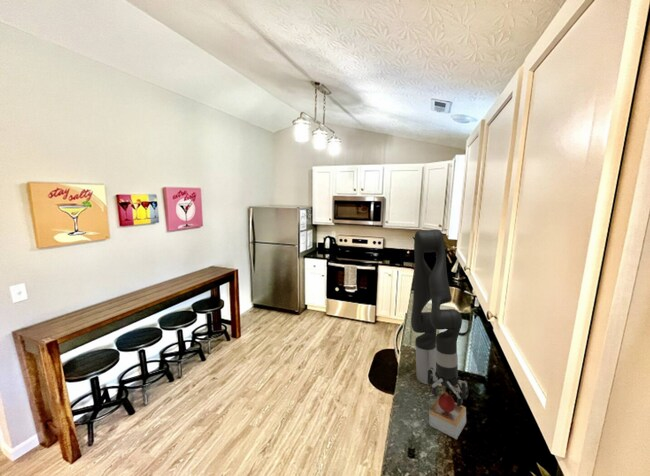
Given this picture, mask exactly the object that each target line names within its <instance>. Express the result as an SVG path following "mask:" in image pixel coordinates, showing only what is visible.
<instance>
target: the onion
mask: <svg viewBox="0 0 650 476" xmlns="http://www.w3.org/2000/svg"><path fill="white" fill-rule="evenodd" d="M439 396H440V397H439ZM439 396H438V397H439V406H440V407H441V409H442V410H444V411H445V412H447V413H448V412H451V411H453V410H454V408H455V403H456V402H455V399H454V398H453V397H452V395H450V394H449V393H448V392H445V393H442V394H440V395H439Z"/></svg>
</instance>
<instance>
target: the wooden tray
mask: <svg viewBox="0 0 650 476" xmlns="http://www.w3.org/2000/svg"><path fill="white" fill-rule="evenodd" d="M440 396H441V395H439V396H438V398H437V399H436V400H435V402H434V403H433V404H432V406H430V408H429V410H428V415H429V416H428V417H429V423H428V424H429V426H430V427H432V428H434V429H436V430H437V431H439V432H441V433H443V434H446V435H447V436H449V437H451V438H453V439H455V440H458V438H459V436H460V434H461V433H462V431H463V429H464V427H465V426H466V425H467V407H466V406H464V405H463V404H462V405H461V406H460V407H458V406H457V402H455V408H454V410H453V411H451V412H448V413H447V412H445V411H444V410H442V409H441V407H440V406H439V397H440Z"/></svg>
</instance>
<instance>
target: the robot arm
mask: <svg viewBox="0 0 650 476" xmlns="http://www.w3.org/2000/svg"><path fill="white" fill-rule="evenodd" d="M413 245H414V246H413V248H414V251H413V252H414V275H413V296H412V297H413V300H412V301H413V302H412V308H411V311H412V312H411V318H410V319H411V320H410V322H411V328H412V331H413V332H415V333H416V334H417V333H419V334H420V335H418V336H417V337H415V341H414V342H415V367H416V369H415V372H416V373H415V374H416V379H417V381H418V382H419V383H422V384H424V385H431V387H432V394H433V396H434V397H437V396H438V395H439V385H441V386H443V387H445V388H448V389H449V390H451V391H452V392H453V394H455V395H456V403H457V406H458V407H460V406H461V405H462V406H463V402H464V401H463V400H467V398H468V397H469V387H468V380H466V379H464V380H461V379H459V376H458V375H459V371H458V370H459V367H458V365H459V363H458V359H459V358H458V357H459V356H458V351H457V350H458V347H457V343H458V342H457V341H458V338H459V334H460V331H461V329H462V328H461V327H462V325H463V317H462V314H461V313H460V311H459V310H457V309H456V308H447V309H443V308H442V309H441V305H444V304H448V303H450V302H451V301H452V293H451V289H450V284H449V279H448V272H447V271H448V269H447V257H446V255H447V254H446V246H445V245H446V244H445V237H444V235H443V233H442V231H441V230H440V229H425V230H424V229H423V230H417V231H415V234H414V239H413ZM425 253H436V259H435V263H434V267H433V268H432V269H431V268H430V267H429V266H428V263H427V262H426V260H425V256H424V255H425ZM430 300H431V307H430V308H431V309H430V311H429V312H428V311H425V312H423V309H424V307H426V305H427V304H428V303H429V302H430ZM437 330H440V331H441V330H444V331H441V332H438V333H437Z"/></svg>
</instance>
